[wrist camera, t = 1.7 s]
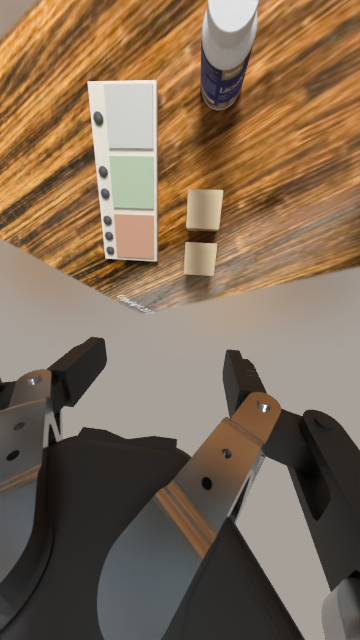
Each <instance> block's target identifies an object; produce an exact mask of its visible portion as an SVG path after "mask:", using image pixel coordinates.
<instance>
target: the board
mask: <svg viewBox="0 0 360 640" xmlns="http://www.w3.org/2000/svg"><path fill="white" fill-rule="evenodd" d="M87 82H88V92H89V102H90V112H91V122H92V131H93V141H94V151H95V161H96V171H97V180H98V190H99V200H100V210H101V220H102V229H103V239H104V249H105V259H122V260H140V261H158V84H157V80H135V81H87Z"/></svg>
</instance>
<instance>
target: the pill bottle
mask: <svg viewBox="0 0 360 640" xmlns="http://www.w3.org/2000/svg"><path fill="white" fill-rule="evenodd" d="M258 3H259V0H208V3H207V10H206V13H205V16H204V21H203V26H202V42H201V92H202V96H203V99H204V101H205V103H206V104H207V105H208V106H209V107H210V108H212V109H214V110H224V109H226V108H228V107H230V106H231V105H232V104H233V103H234V102H235V100H236V99H237V97H238V95H239V93H240V90H241V87H242V84H243V80H244V76H245V72H246V69H247V65H248V61H249V58H250V54H251V50H252V47H253V43H254V39H255V35H256V29H257V7H258Z"/></svg>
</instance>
